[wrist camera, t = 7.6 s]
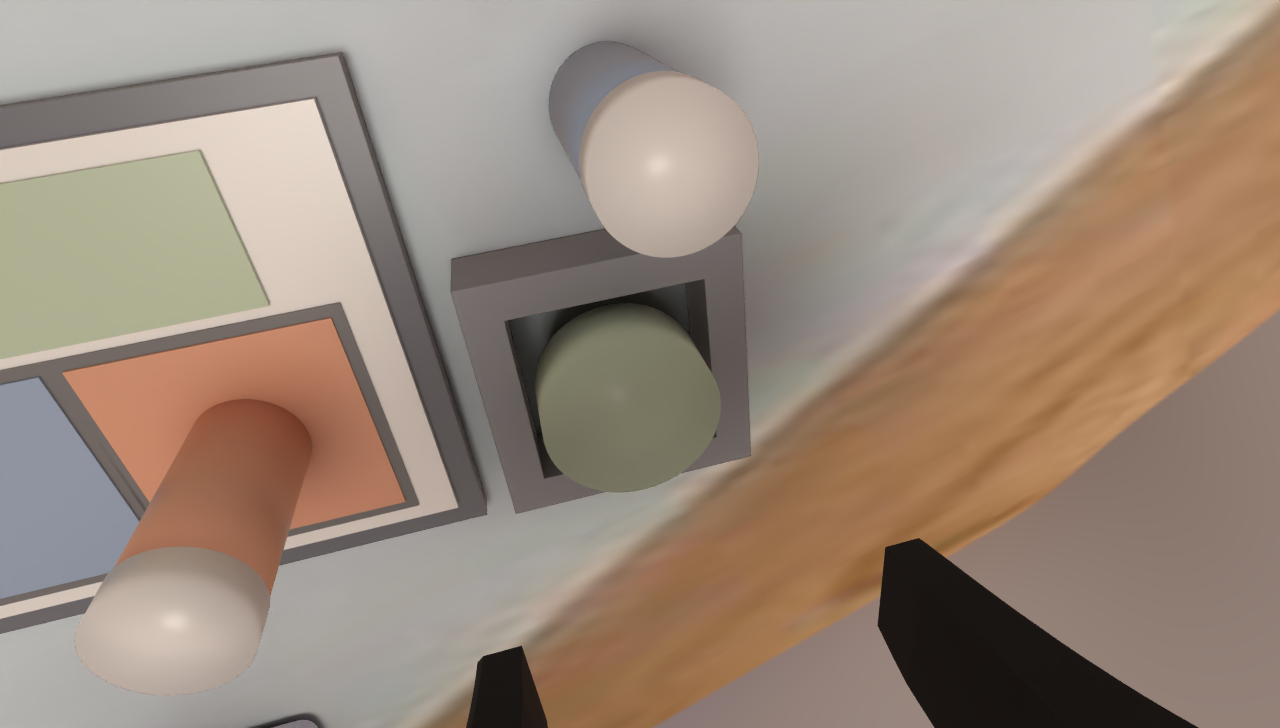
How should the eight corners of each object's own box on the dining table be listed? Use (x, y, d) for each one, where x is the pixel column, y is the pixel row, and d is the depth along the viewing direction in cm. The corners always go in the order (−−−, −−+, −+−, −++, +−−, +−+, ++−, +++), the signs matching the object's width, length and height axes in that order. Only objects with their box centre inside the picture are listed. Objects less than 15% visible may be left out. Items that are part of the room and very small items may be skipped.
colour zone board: (486, 501, 22) (487, 522, 21) (-77, 638, 20) (-100, 667, 19) (342, 53, 15) (335, 58, 14) (-552, 192, 13) (-619, 207, 12)
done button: (702, 425, 20) (725, 469, 18) (551, 461, 19) (560, 510, 18) (690, 287, 17) (715, 323, 16) (518, 323, 17) (524, 364, 15)
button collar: (728, 417, 22) (751, 455, 20) (511, 469, 21) (516, 513, 20) (715, 207, 18) (741, 233, 17) (451, 259, 17) (450, 291, 16)
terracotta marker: (332, 471, 19) (285, 667, 14) (222, 501, 18) (132, 712, 13) (284, 384, 17) (211, 568, 12) (164, 415, 17) (37, 617, 12)
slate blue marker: (672, 156, 17) (760, 239, 12) (558, 177, 17) (602, 272, 12) (660, 29, 16) (756, 65, 11) (535, 50, 16) (573, 96, 10)
